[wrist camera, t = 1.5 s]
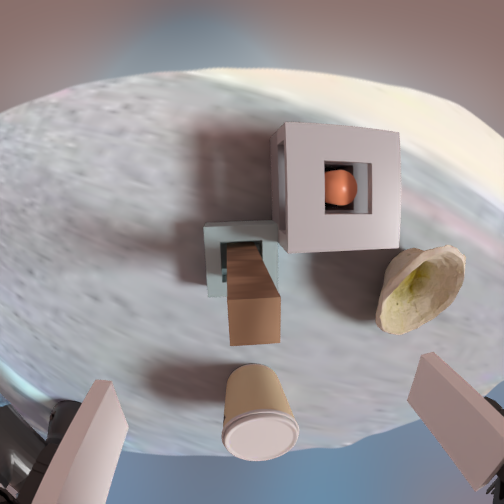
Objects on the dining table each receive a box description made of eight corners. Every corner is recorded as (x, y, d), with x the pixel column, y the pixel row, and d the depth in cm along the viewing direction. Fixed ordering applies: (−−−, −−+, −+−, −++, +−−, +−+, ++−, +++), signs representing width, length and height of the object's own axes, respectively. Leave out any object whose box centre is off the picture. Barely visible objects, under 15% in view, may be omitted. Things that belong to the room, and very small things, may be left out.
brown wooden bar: (227, 269, 35) (230, 346, 18) (226, 242, 35) (227, 299, 17) (254, 267, 36) (280, 342, 18) (253, 241, 35) (280, 296, 18)
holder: (209, 285, 37) (208, 297, 33) (205, 222, 35) (203, 227, 31) (272, 282, 37) (278, 293, 34) (272, 220, 36) (277, 224, 32)
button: (311, 202, 33) (325, 205, 28) (310, 171, 32) (324, 169, 27) (339, 202, 33) (357, 205, 28) (339, 172, 33) (357, 170, 28)
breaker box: (272, 236, 36) (288, 253, 27) (269, 138, 33) (285, 122, 24) (361, 233, 37) (398, 248, 28) (360, 142, 34) (399, 132, 25)
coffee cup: (208, 381, 40) (205, 439, 28) (258, 347, 39) (269, 403, 28) (248, 413, 42) (254, 469, 30) (295, 384, 41) (314, 439, 30)
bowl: (354, 332, 40) (384, 368, 31) (353, 239, 37) (391, 256, 27) (432, 310, 41) (469, 336, 31) (437, 227, 38) (481, 239, 28)
